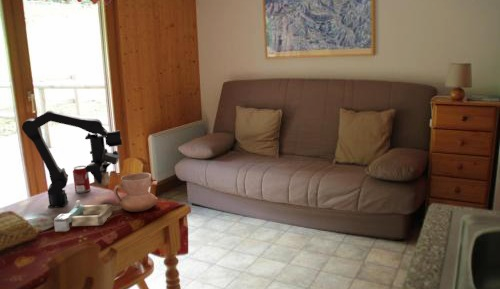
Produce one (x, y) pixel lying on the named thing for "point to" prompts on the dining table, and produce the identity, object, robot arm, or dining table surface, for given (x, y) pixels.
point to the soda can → (81, 179)
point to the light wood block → (103, 179)
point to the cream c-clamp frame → (91, 220)
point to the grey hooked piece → (62, 222)
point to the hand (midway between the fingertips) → (102, 181)
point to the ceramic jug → (136, 192)
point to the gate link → (76, 210)
